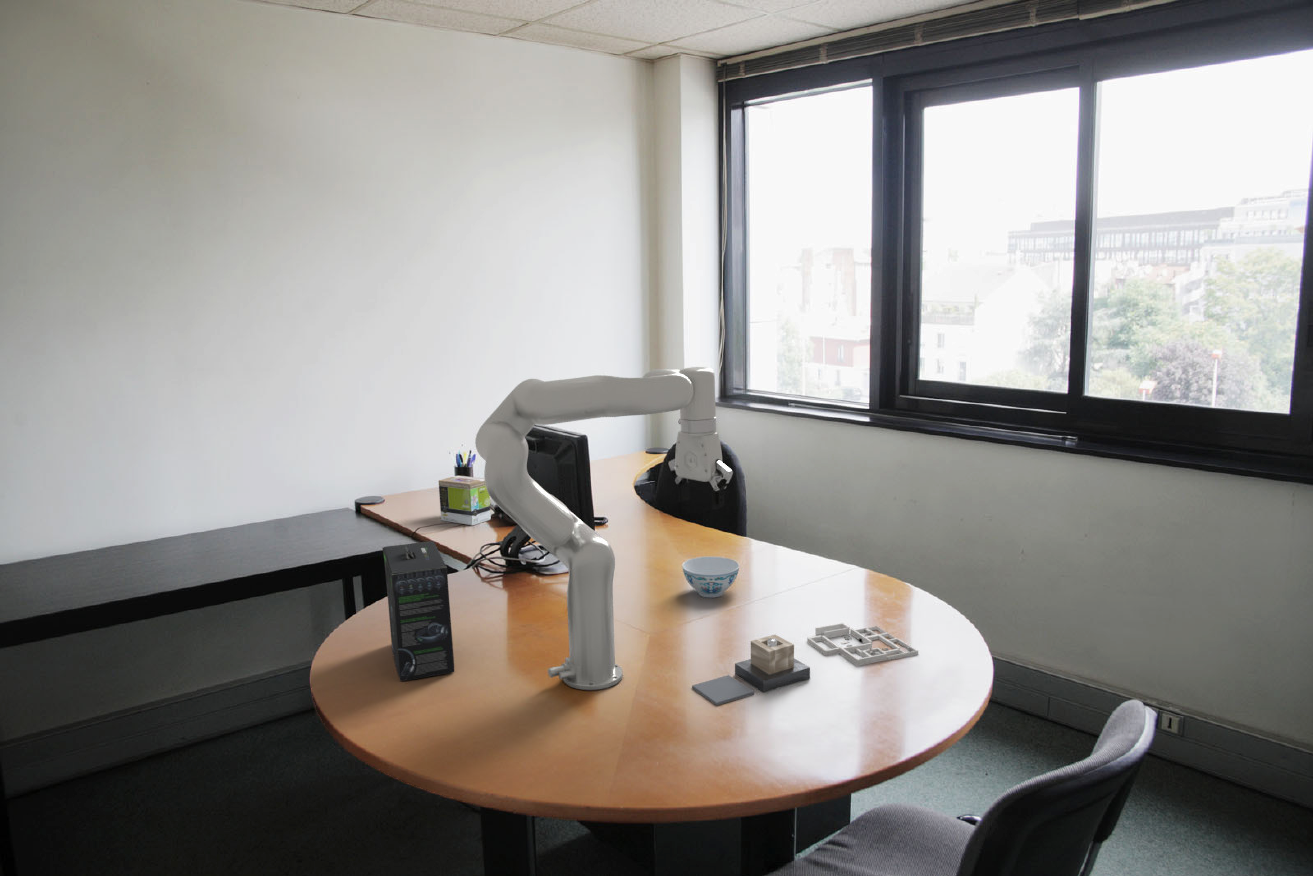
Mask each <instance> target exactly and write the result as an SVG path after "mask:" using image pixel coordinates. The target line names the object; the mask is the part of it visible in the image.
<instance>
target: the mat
mask: <svg viewBox="0 0 1313 876" xmlns="http://www.w3.org/2000/svg"><path fill="white" fill-rule="evenodd" d="M691 688H692V690H694V691H696V692H697V693H699V694H700V695H701V696H702V697H704V698H706V699H707V700H708V701H709V702H711V703H712V704H714V705H715V706H720V705H724V704H727V703H730V702H733V701H736V700H739V699H742V698H747V697H750V696H752V695H754V694H755V691H754V690H753V689H751V688H749V687H748V686H746V685H745V684H743V683H742V682H740V681H738V680H737V679H736V678H734V677H732V676H731V675H729V674H727V675H724V676H720V677H717V678H713V679H709V680H707V681H703V682H699V683H696V684H693V685H691Z"/></svg>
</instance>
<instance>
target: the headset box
mask: <svg viewBox="0 0 1313 876" xmlns="http://www.w3.org/2000/svg"><path fill="white" fill-rule="evenodd" d="M382 553H383V559H384V560H383V561H384V571H385V581H386V592H387V593H386V594H387V595H386V596H387V605H388V615H389V630H390V639H391V651H392V657H393V661H394V666H395V670H396V672H397V675H398V676H397V677H398V679H399V681H400V682H403V681H410V680H416V679H417V680H418V679H423V678H430V677H434V676H440V675H446V674H451V673H455V659H454V658H455V657H454V647H453V646H454V645H453V631H452V619H451V607H450V593H449V580H448V578H449V577H448V567H447V565H446V563H445V561H444V559H443V557H442V555H441V553H440V552H439V549H438V548H437V546H436V544H435V541H434V540H431V541H428V540H427V541H421V542H412V543H405V544H398V545H397V544H396V545H391V546H390V545H387V546H384V547H382Z"/></svg>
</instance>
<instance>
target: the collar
mask: <svg viewBox="0 0 1313 876" xmlns="http://www.w3.org/2000/svg"><path fill="white" fill-rule="evenodd" d="M770 638H774V639H777V646H774V647H769V646H767V640H768V639H770ZM750 659H751V664H752V665H754V666H756V667H757V668H759V669H761V670H762V671H764V672H766V673H767V674H769V675H770V674H773V673H776V672H780V671H783V670H787V669H790V668H793V667H794V659H795V644H794V643H792V642H790V641H788V640H787V639H785V638H782V637H780V636H779V635H777V634H771V635H768V636H765V637H761V638H757V639H753V640H750Z"/></svg>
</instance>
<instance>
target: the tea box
mask: <svg viewBox="0 0 1313 876" xmlns="http://www.w3.org/2000/svg"><path fill="white" fill-rule="evenodd" d="M438 492H439V493H438V494H439V509H440V519H441V520H440V521H443V522H448V523H455V524H461V525H466V526H467V525H468V526H475V525H479V524H481V523H485V522H488V521H491V518H492V517H491V500H490V499H491V497H490V495H489V494H488V491H487V488H486V485H485V478H483V477H482V478H481V477H474V476H466V475H454V476H451V477H447V478H443V479H439V480H438Z"/></svg>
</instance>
